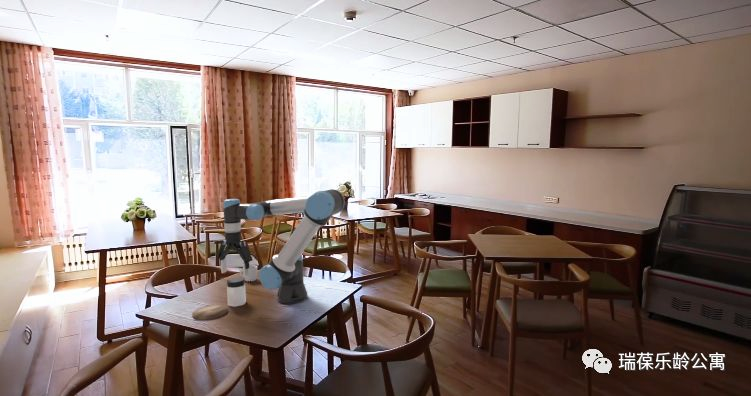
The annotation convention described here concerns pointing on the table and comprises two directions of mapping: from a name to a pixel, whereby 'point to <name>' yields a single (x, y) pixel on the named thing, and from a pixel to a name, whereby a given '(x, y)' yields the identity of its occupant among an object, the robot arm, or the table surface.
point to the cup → (250, 273)
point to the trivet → (210, 312)
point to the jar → (236, 292)
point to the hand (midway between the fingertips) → (234, 274)
